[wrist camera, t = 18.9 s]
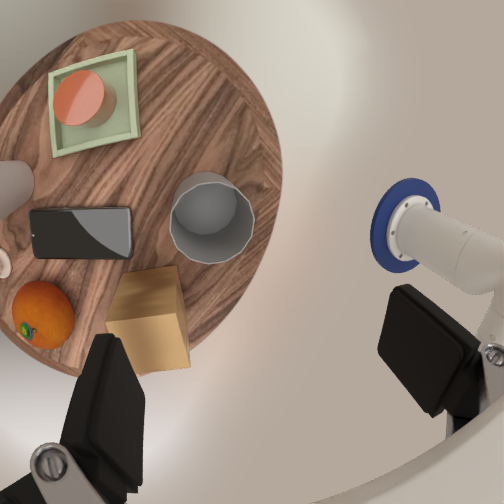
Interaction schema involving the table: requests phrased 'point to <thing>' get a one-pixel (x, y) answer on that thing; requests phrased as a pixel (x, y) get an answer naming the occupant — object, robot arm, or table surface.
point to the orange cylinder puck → (84, 100)
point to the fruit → (43, 314)
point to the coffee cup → (14, 186)
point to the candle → (5, 264)
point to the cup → (210, 218)
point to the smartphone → (82, 233)
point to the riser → (151, 319)
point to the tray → (121, 121)
